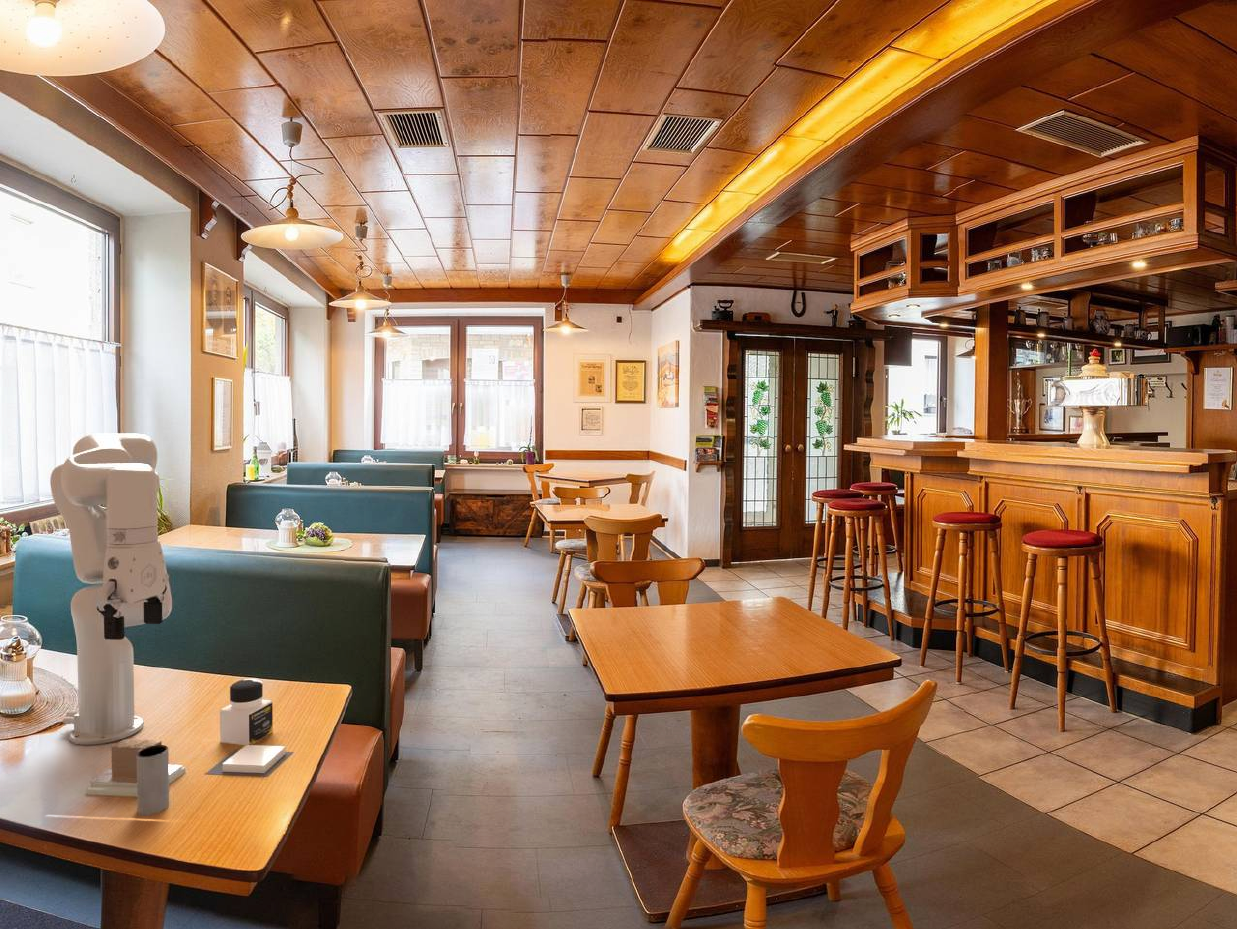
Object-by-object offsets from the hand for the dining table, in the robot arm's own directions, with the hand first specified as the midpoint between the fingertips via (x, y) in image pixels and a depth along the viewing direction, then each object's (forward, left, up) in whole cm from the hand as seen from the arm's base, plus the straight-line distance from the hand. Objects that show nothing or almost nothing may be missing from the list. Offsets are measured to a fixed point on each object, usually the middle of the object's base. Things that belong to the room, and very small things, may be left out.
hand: (134, 630), depth 128 cm
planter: (+9, -8, -28) cm, 31 cm away
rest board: (0, 0, -28) cm, 28 cm away
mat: (+16, +9, -28) cm, 34 cm away
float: (0, 0, -27) cm, 27 cm away
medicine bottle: (+9, +20, -28) cm, 36 cm away
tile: (+13, +9, -27) cm, 31 cm away
